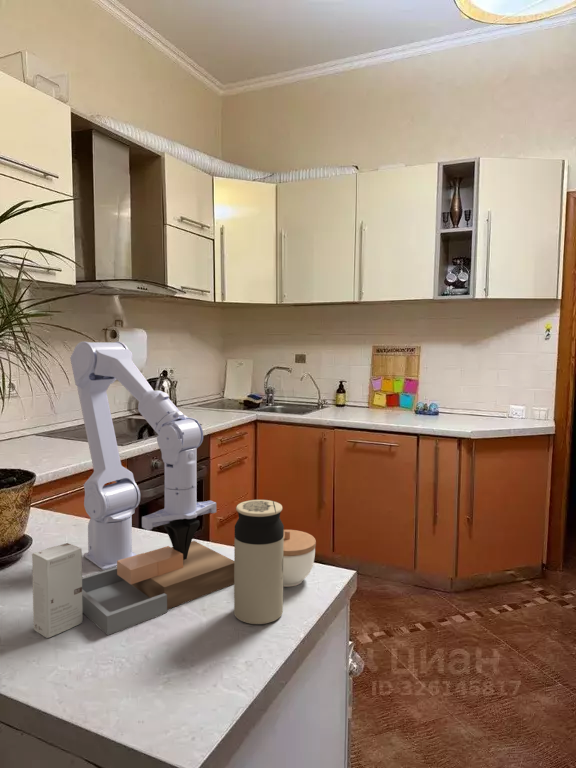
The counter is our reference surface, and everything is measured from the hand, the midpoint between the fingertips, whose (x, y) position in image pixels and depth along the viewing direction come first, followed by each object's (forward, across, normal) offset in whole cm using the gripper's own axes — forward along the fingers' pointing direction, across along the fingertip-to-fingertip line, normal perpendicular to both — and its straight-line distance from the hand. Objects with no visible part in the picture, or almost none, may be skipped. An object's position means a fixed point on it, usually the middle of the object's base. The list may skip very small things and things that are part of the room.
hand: (180, 558), depth 98 cm
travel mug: (+5, +3, -18) cm, 19 cm away
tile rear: (+1, -4, 0) cm, 4 cm away
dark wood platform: (+5, 0, 0) cm, 5 cm away
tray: (+5, -13, 0) cm, 13 cm away
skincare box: (+5, -22, 0) cm, 23 cm away
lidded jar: (+5, +15, -12) cm, 20 cm away
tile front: (+1, -9, 0) cm, 9 cm away
